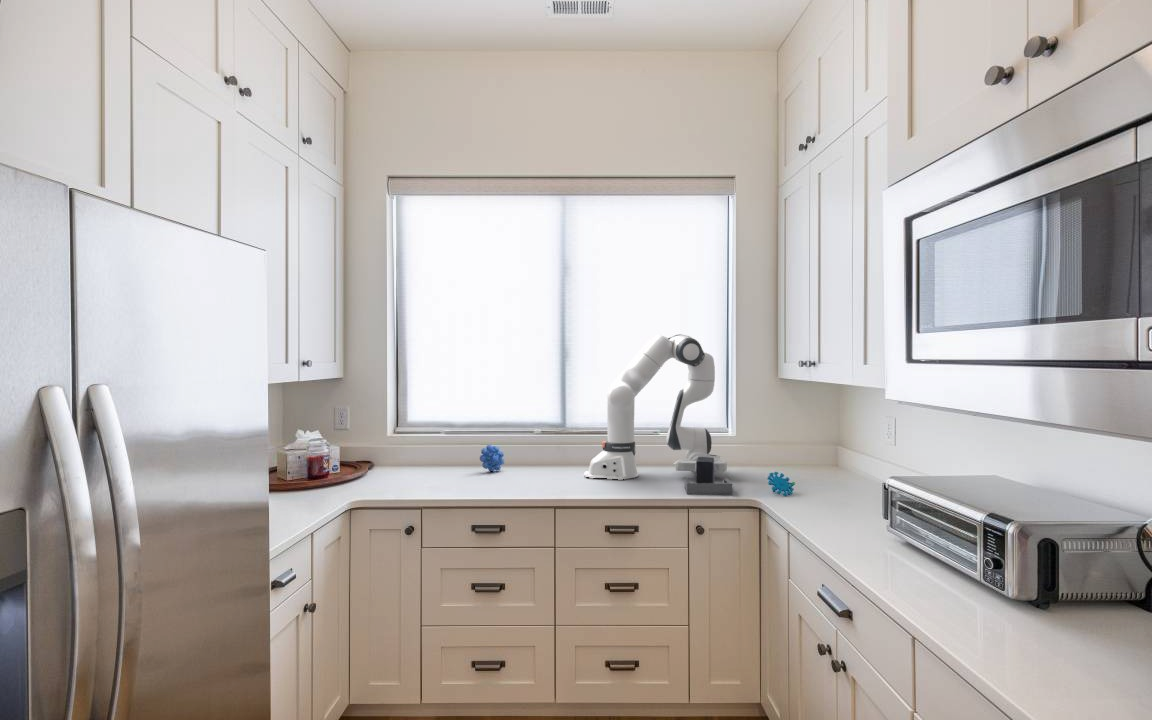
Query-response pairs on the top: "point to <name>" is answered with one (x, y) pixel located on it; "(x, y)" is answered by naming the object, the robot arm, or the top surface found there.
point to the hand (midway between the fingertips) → (702, 469)
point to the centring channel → (708, 488)
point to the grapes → (492, 458)
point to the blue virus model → (780, 484)
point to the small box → (705, 470)
